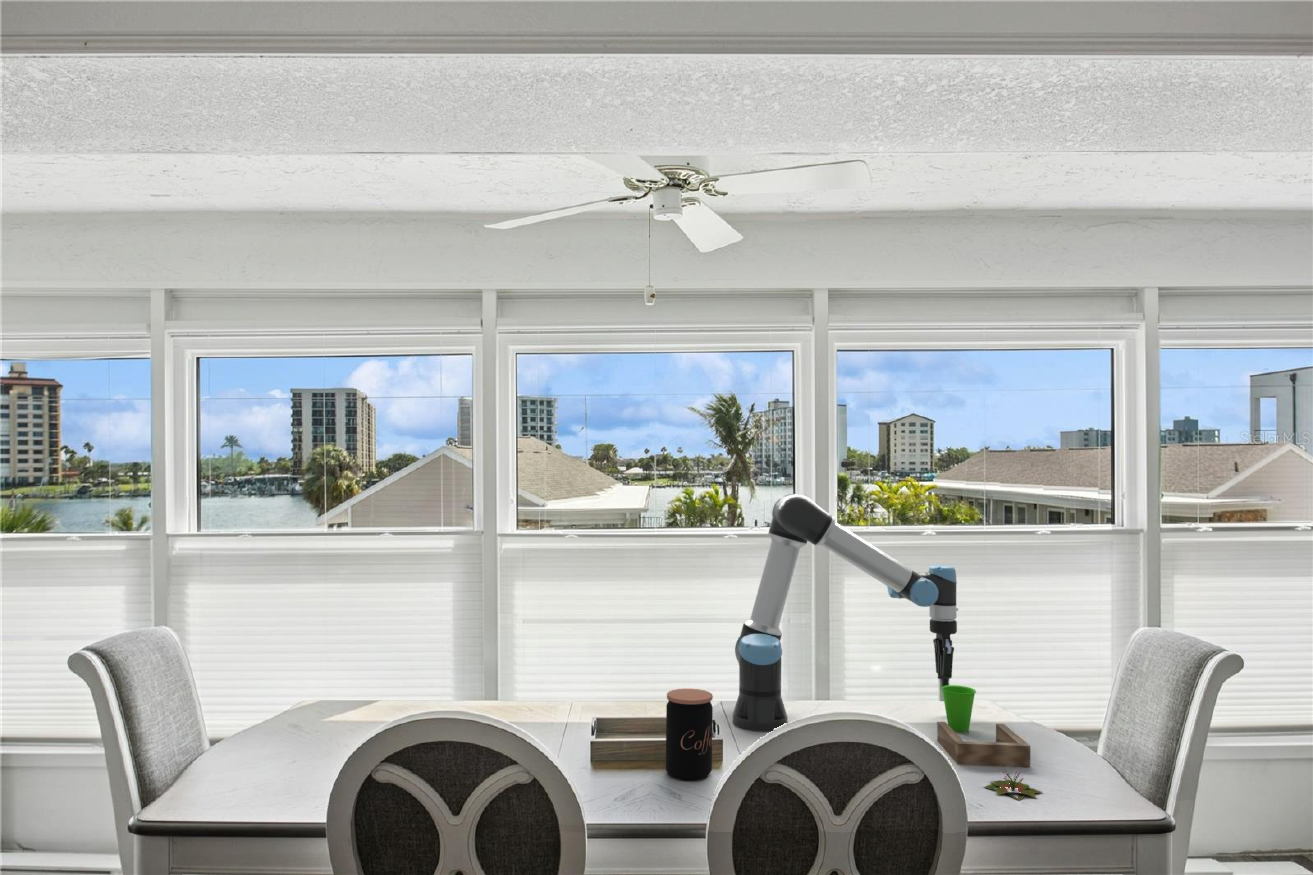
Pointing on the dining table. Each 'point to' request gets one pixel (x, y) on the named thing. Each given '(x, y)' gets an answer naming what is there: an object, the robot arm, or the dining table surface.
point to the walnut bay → (985, 748)
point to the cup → (958, 706)
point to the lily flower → (1012, 787)
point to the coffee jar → (689, 734)
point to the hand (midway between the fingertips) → (944, 700)
